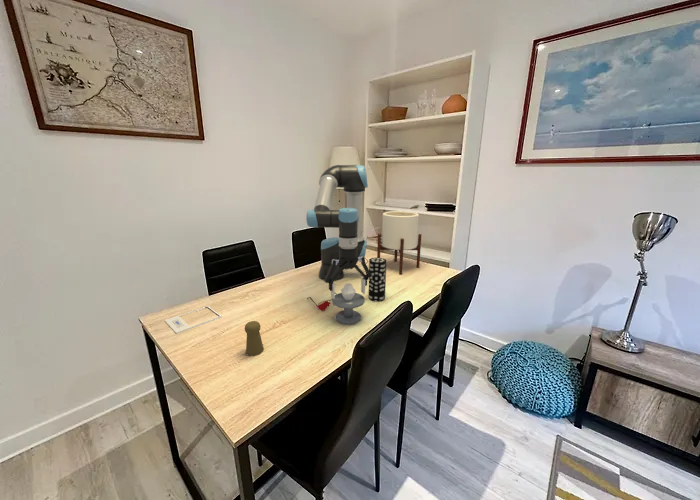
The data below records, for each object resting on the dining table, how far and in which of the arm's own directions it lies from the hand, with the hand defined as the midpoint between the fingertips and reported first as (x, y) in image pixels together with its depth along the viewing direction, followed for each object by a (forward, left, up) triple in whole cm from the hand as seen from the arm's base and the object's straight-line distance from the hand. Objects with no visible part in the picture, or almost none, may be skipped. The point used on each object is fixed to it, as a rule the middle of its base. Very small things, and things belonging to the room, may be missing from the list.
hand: (348, 295), depth 121 cm
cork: (+11, -39, -11) cm, 42 cm away
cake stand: (0, 0, -11) cm, 11 cm away
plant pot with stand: (-52, +53, -11) cm, 75 cm away
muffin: (0, 0, -2) cm, 2 cm away
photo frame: (-21, -63, -11) cm, 68 cm away
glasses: (-18, -5, -11) cm, 22 cm away
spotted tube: (-14, +20, -11) cm, 27 cm away
